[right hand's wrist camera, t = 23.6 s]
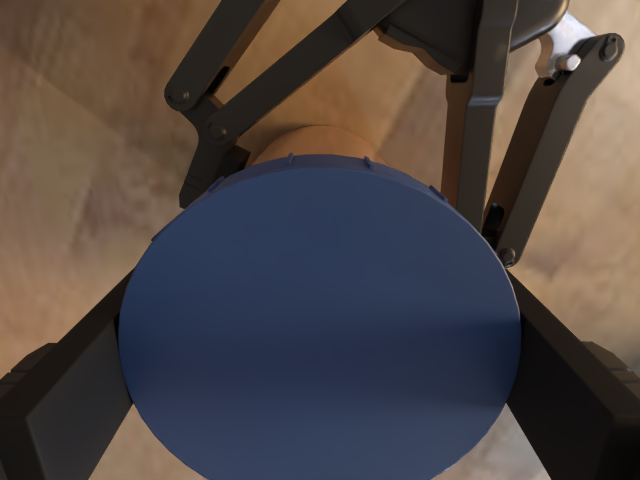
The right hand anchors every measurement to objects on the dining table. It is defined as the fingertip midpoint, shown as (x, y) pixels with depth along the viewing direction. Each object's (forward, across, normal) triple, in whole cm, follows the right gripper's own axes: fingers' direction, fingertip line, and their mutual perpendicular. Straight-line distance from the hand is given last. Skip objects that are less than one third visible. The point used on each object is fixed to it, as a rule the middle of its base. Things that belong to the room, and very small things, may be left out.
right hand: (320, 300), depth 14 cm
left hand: (+6, +2, +4) cm, 8 cm away
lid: (-3, 0, 0) cm, 3 cm away
